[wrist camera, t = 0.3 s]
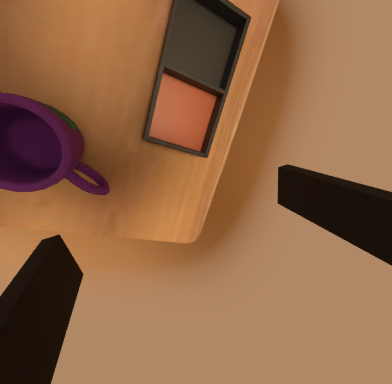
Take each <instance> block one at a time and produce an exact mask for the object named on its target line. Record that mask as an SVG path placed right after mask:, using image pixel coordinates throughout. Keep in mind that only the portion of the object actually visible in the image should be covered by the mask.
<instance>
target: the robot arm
mask: <svg viewBox="0 0 392 384" xmlns="http://www.w3.org/2000/svg"><path fill="white" fill-rule="evenodd" d="M278 204H280V205H282V206H283V207H285V208H287V209H289V210H291V211H293V212H295V213H296V214H298V215H300V216H302V217H304V218H306V219H307V220H309V221H311V222H313V223H315V224H317V225H318V226H320V227H322V228H324V229H326V230H328V231H329V232H331V233H333V234H335V235H337V236H338V237H340V238H342V239H344V240H346V241H348V242H350V243H351V244H353V245H355V246H357V247H359V248H360V249H362V250H364V251H366V252H368V253H370V254H371V255H373V256H375V257H377V258H379V259H381V260H383V261H384V262H386V263H388V264H390V265H392V192H389V191H386V190H382V189H378V188H374V187H370V186H366V185H363V184H359V183H355V182H352V181H348V180H344V179H340V178H337V177H333V176H329V175H326V174H322V173H318V172H314V171H311V170H307V169H303V168H299V167H295V166H292V165H288V164H287V165H284V166H281V167H279V168H278ZM82 277H83V273H82V271H81V269H80V268H79V266H78V264H77V263H76V261H75V259H74V258H73V256H72V255H71V253H70V251H69V249H68V248H67V246H66V244H65V243H64V241H63V239H62V238H61V236H60V235H56V236H53V237H50V238H47V239H44V240H42V241H41V242H40V243H39V245H38V246H37V247H36V249H35V250H34V251H33V253H32V254H31V255H30V257H29V258H28V260H27V261H26V262H25V264H24V265H23V266H22V268H21V269H20V270H19V272H18V273H17V275H16V276H15V277H14V278H13V280H12V281H11V283H10V284H9V285H8V287H7V288H6V289H5V291H4V292H3V293H2V295H1V296H0V384H51V381H52V378H53V374H54V371H55V368H56V364H57V361H58V358H59V354H60V351H61V348H62V344H63V341H64V337H65V334H66V330H67V327H68V324H69V321H70V317H71V314H72V311H73V307H74V304H75V300H76V297H77V294H78V291H79V287H80V284H81V281H82Z"/></svg>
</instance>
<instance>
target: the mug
mask: <svg viewBox="0 0 392 384" xmlns="http://www.w3.org/2000/svg"><path fill="white" fill-rule="evenodd" d="M82 153H83V139H82V136H81V133H80V131H79V129H78V128H77V126H76V125H75V124H74V123H73V122H72V121H71V120H70V119H69V118H68V117H67V116H66V115H65V114H63V113H61V112H60V111H58V110H57V109H55V108H53V107H51V106H49V105H46V104H43V103H41V102H38V101H35V100H33V99H30V98H27V97H23V96H19V95H15V94H8V93H1V92H0V188H1V189H5V190H10V191H15V192H33V191H38V190H43V189H46V188H48V187H50V186H52V185H55V184H57V183H58V182H59V181H61V180H62V179H63V178H66V179H68V180H69V181H70V182H72V183H73V184H74V185H76V186H77V187H79V188H80V189H82V190H84V191H86V192H89V193H92V194H97V195H106V194H108V193H109V191H110V188H109V185H108V183H107V182H106V180H105V179H104V178H103V177H102V176H101V175H100V174H98V173H97V172H96V171H94V170H93V169H91V168H90V167H88V166H87V165H85V164H83V163H81V162H79V161H80V159H81V157H82ZM74 168H75V169H77V170H79V171H81V172H82V173H84V174H86V175H87V176H89V177H90V178H92V179H93V180H94V181H96V182H97V183H98V185H99V186H97V185H94V184H92V183H89V182H88V181H86V180H85V179H83V178H82V177H80V176H79V175H78V174H77V173H75V172H74V171H73V169H74Z"/></svg>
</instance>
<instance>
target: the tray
mask: <svg viewBox="0 0 392 384" xmlns="http://www.w3.org/2000/svg"><path fill="white" fill-rule="evenodd" d="M250 20H251V16H249V15H248V14H246V13H245V12H244V11H242V10H241V9H239V8H238V7H237V6H235V5H234V4H232V3H231V2H230V1H228V0H173V2H172V6H171V11H170V15H169V20H168V25H167V29H166V34H165V38H164V43H163V47H162V52H161V56H160V61H159V66H158V70H157V75H156V79H155V84H154V88H153V93H152V98H151V102H150V107H149V111H148V116H147V120H146V125H145V129H144V134H143V139H144V140H147V141H150V142H154V143H157V144H161V145H164V146H167V147H171V148H174V149H178V150H181V151H185V152H188V153H192V154H195V155H198V156H202V157H205V158H207V157H208V154H209V151H210V147H211V144H212V141H213V138H214V135H215V131H216V128H217V125H218V122H219V119H220V116H221V112H222V109H223V106H224V103H225V100H226V96H227V93H228V90H229V87H230V84H231V80H232V77H233V74H234V71H235V68H236V64H237V61H238V58H239V55H240V52H241V49H242V45H243V42H244V39H245V36H246V33H247V29H248V26H249V23H250Z"/></svg>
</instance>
